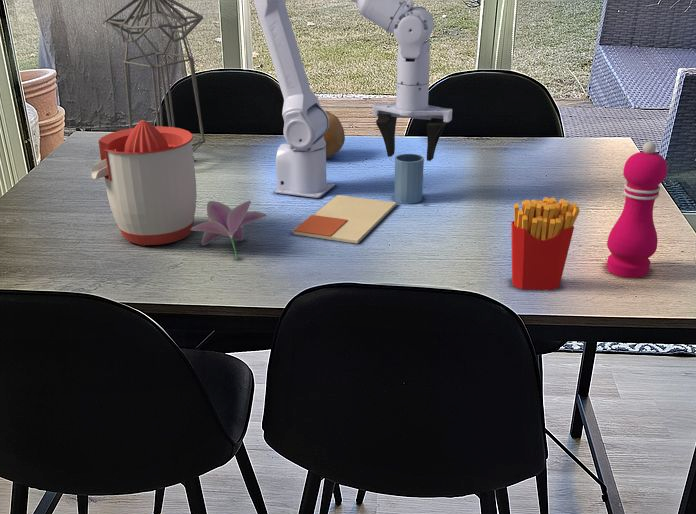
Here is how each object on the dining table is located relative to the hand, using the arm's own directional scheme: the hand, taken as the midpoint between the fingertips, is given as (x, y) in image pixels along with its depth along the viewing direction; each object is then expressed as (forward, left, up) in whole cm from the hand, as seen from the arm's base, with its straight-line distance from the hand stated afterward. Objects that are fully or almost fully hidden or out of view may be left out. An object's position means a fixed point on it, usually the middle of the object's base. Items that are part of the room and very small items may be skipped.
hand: (410, 157), depth 154 cm
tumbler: (0, 0, -8) cm, 8 cm away
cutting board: (-7, -14, -8) cm, 18 cm away
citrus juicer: (-36, -33, -8) cm, 50 cm away
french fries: (+30, -29, -8) cm, 42 cm away
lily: (-20, -34, -8) cm, 40 cm away
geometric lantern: (-56, +4, -8) cm, 57 cm away
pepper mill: (+42, -19, -8) cm, 47 cm away
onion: (-26, +19, -8) cm, 33 cm away
